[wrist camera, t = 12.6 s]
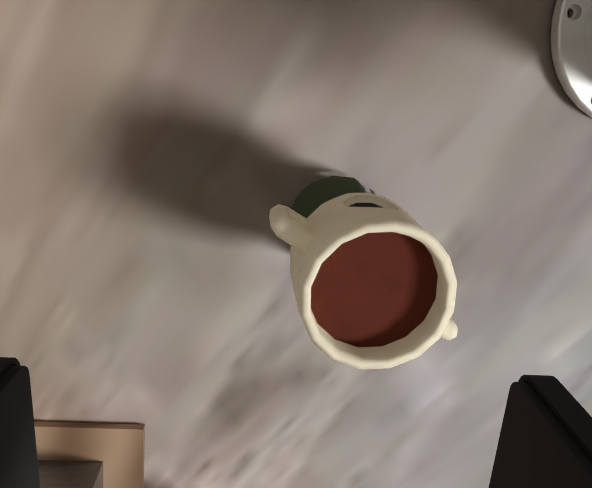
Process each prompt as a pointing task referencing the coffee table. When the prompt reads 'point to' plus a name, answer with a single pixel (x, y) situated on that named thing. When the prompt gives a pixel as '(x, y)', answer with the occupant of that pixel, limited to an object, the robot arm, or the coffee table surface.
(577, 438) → the robot arm
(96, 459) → the tan piece
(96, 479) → the link
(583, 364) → the coffee table surface
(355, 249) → the character mug
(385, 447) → the coffee table surface
